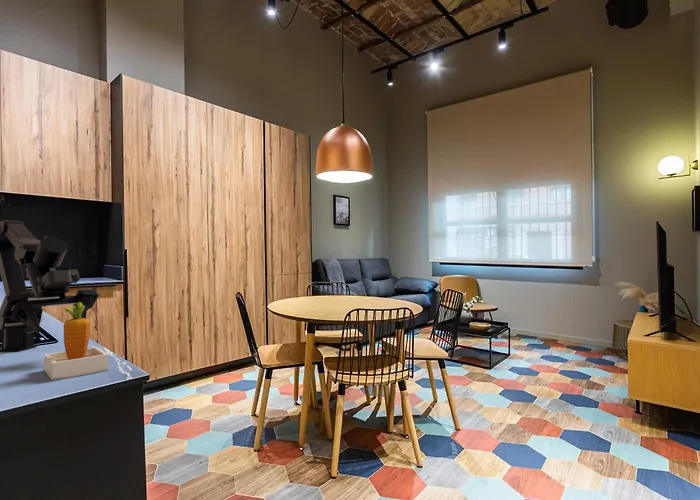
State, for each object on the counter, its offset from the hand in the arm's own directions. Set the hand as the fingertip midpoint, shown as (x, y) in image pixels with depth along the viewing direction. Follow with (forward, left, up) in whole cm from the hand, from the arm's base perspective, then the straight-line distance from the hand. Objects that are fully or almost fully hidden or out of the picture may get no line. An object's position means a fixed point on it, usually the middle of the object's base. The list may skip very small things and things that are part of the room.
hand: (62, 328), depth 90 cm
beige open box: (+7, -4, -9) cm, 12 cm away
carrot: (+6, -4, -8) cm, 11 cm away
